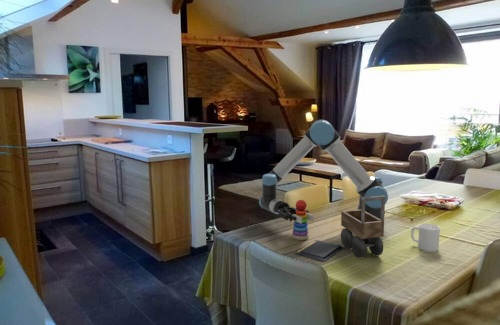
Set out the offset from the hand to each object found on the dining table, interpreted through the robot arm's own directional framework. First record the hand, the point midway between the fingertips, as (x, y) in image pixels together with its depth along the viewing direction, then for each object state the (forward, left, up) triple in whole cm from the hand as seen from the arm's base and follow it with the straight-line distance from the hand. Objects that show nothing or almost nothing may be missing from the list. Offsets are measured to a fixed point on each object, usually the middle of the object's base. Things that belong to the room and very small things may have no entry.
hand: (307, 219), depth 184 cm
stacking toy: (+1, -5, -11) cm, 12 cm away
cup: (-47, +22, -11) cm, 53 cm away
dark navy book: (-1, +12, -12) cm, 17 cm away
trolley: (-18, +18, -11) cm, 27 cm away
